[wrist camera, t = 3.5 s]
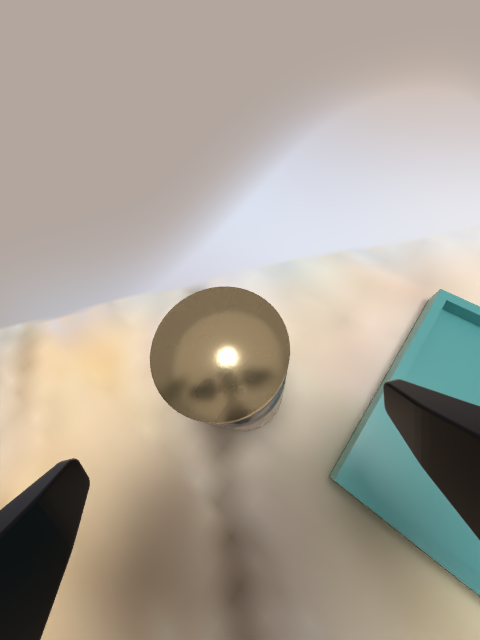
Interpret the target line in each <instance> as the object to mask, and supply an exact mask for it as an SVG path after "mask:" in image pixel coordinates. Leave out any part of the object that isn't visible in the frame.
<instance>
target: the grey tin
mask: <svg viewBox="0 0 480 640" xmlns="http://www.w3.org/2000/svg"><path fill="white" fill-rule="evenodd" d="M289 356H290V343H289V336H288V333H287V329H286V326H285V324H284V322H283V320H282V318H281V317H280V315H279V314H278V312H277V311H276V310H275V309H274V307H273V306H272V305H271V304H270V303H268V302H267V301H266V300H265V299H263V298H262V297H260V296H259V295H257V294H255V293H253V292H250V291H248V290H245V289H241V288H236V287H214V288H209V289H205V290H202V291H199V292H196V293H194V294H192V295H190V296H188V297H187V298H185V299H183V300H182V301H180V302H179V303H178V304H177V305H175V306H174V307H173V308H172V309H171V310H170V311H169V312H168V314H167V315H166V316H165V317H164V319H163V320H162V322H161V323H160V325H159V327H158V329H157V331H156V333H155V336H154V338H153V341H152V346H151V352H150V368H151V373H152V377H153V380H154V383H155V385H156V387H157V389H158V391H159V393H160V394H161V396H162V397H163V399H164V400H165V401H166V402H167V403H168V404H169V405H170V406H171V407H172V408H173V409H175V410H176V411H177V412H179V413H181V414H182V415H184V416H186V417H188V418H191V419H194V420H197V421H201V422H205V423H209V424H213V425H217V426H221V427H225V428H229V429H234V430H238V431H249V430H254V429H257V428H259V427H261V426H263V425H265V424H266V423H267V422H269V421H270V420H271V419H272V418H273V416H274V415H275V414H276V412H277V410H278V408H279V406H280V403H281V399H282V394H283V389H284V384H285V379H286V374H287V369H288V364H289Z"/></svg>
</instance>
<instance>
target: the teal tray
mask: <svg viewBox="0 0 480 640" xmlns="http://www.w3.org/2000/svg"><path fill="white" fill-rule="evenodd" d="M395 379H401V380H404V381H407V382H410V383H413V384H416V385H419V386H422V387H425V388H428V389H431V390H434V391H437V392H440V393H443V394H445V395H448V396H451V397H454V398H457V399H460V400H463V401H466V402H469V403H472V404H475V405H478V406H480V307H479V306H477V305H475V304H473V303H470V302H468V301H466V300H464V299H462V298H459V297H457V296H455V295H453V294H451V293H448V292H446V291H444V290H442V289H440V290H439V291H438V292H437V293H436V294H435V295H434V296H432V297H431V298H430V299H429V300H428V302H427V304H426V306H425V307H424V309H423V311H422V313H421V314H420V316H419V318H418V320H417V322H416V323H415V325H414V327H413V329H412V330H411V332H410V334H409V336H408V338H407V339H406V341H405V343H404V345H403V346H402V348H401V350H400V352H399V353H398V355H397V357H396V359H395V361H394V362H393V364H392V366H391V368H390V369H389V371H388V373H387V375H386V377H385V378H384V380H383V382H382V384H381V385H380V387H379V389H378V391H377V393H376V394H375V396H374V398H373V400H372V401H371V403H370V405H369V407H368V408H367V410H366V412H365V414H364V416H363V417H362V419H361V421H360V423H359V424H358V426H357V428H356V430H355V432H354V433H353V435H352V437H351V439H350V440H349V442H348V444H347V446H346V448H345V449H344V451H343V453H342V455H341V456H340V458H339V460H338V462H337V463H336V465H335V467H334V469H333V471H332V472H331V474H330V476H329V477H330V478H331V479H333V480H334V481H335V482H336V483H338V484H339V485H340V486H341V487H343V488H344V489H345V490H346V491H348V492H349V493H350V494H352V495H353V496H354V497H355V498H357V499H358V500H359V501H360V502H362V503H363V504H364V505H365V506H367V507H368V508H369V509H370V510H372V511H373V512H374V513H375V514H377V515H378V516H379V517H380V518H382V519H383V520H384V521H386V522H387V523H388V524H389V525H391V526H392V527H393V528H394V529H396V530H397V531H398V532H399V533H401V534H402V535H403V536H404V537H406V538H407V539H408V540H409V541H411V542H412V543H413V544H414V545H416V546H417V547H418V548H420V549H421V550H422V551H423V552H425V553H426V554H427V555H428V556H430V557H431V558H432V559H433V560H435V561H436V562H437V563H438V564H440V565H441V566H442V567H443V568H445V569H446V570H447V571H448V572H450V573H451V574H452V575H454V576H455V577H456V578H457V579H459V580H460V581H461V582H462V583H464V584H465V585H466V586H467V587H469V588H470V589H471V590H472V591H474V592H475V593H476V594H477V595H479V596H480V540H479V539H478V538H477V536H476V535H475V534H474V533H473V531H472V530H471V529H470V528H469V526H468V525H467V524H466V523H465V521H464V520H463V519H462V517H461V516H460V515H459V514H458V512H457V511H456V510H455V509H454V507H453V506H452V505H451V503H450V502H449V501H448V500H447V498H446V497H445V496H444V495H443V493H442V492H441V491H440V490H439V488H438V487H437V486H436V484H435V483H434V482H433V481H432V479H431V478H430V477H429V476H428V474H427V473H426V472H425V470H424V469H423V468H422V466H421V465H420V463H419V462H418V461H417V459H416V458H415V456H414V455H413V453H412V451H411V450H410V448H409V447H408V445H407V444H406V442H405V441H404V439H403V437H402V436H401V434H400V433H399V431H398V430H397V428H396V427H395V425H394V424H393V422H392V420H391V419H390V417H389V416H388V414H387V412H386V410H385V406H384V391H383V385H384V383H385V382H387V381H391V380H395Z"/></svg>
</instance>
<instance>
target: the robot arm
mask: <svg viewBox="0 0 480 640" xmlns="http://www.w3.org/2000/svg"><path fill="white" fill-rule="evenodd" d="M383 391H384V406H385V410H386V412H387V414H388V416H389V417H390V419H391V420H392V422H393V424H394V425H395V427H396V428H397V430H398V431H399V433H400V434H401V436H402V437H403V439H404V441H405V442H406V444H407V445H408V447H409V448H410V450H411V451H412V453H413V455H414V456H415V458H416V459H417V461H418V462H419V463H420V465H421V466H422V468H423V469H424V470H425V472H426V473H427V474H428V476H429V477H430V478H431V479H432V481H433V482H434V483H435V484H436V486H437V487H438V488H439V490H440V491H441V492H442V493H443V495H444V496H445V497H446V498H447V500H448V501H449V502H450V503H451V505H452V506H453V507H454V509H455V510H456V511H457V512H458V514H459V515H460V516H461V517H462V519H463V520H464V521H465V523H466V524H467V525H468V526H469V528H470V529H471V530H472V531H473V533H474V534H475V535H476V536H477V538H478V539H479V540H480V406H478V405H475V404H472V403H469V402H466V401H463V400H460V399H457V398H454V397H451V396H448V395H445V394H443V393H440V392H437V391H434V390H431V389H428V388H425V387H422V386H419V385H416V384H413V383H410V382H407V381H404V380H401V379H395V380H391V381H387V382H385V383H384V385H383ZM89 486H90V480H89V477H88V475H87V474H86V472H85V470H84V469H83V467H82V465H81V464H80V462H79V461H78V460H77V459H69V460H65V461H61V462H59V463H58V464H56V465H55V466H54V467H53V468H52V469H50V470H49V471H48V472H47V473H45V474H44V475H43V476H42V477H41V478H39V479H38V480H37V481H36V482H34V483H33V484H32V485H31V486H29V487H28V488H27V489H26V490H25V491H23V492H22V493H21V494H20V495H18V496H17V497H16V498H15V499H13V500H12V501H11V502H10V503H9V504H7V505H6V506H5V507H4V508H2V509H1V510H0V640H40V639H41V636H42V634H43V631H44V628H45V625H46V622H47V620H48V617H49V614H50V611H51V608H52V606H53V603H54V600H55V597H56V594H57V592H58V589H59V586H60V583H61V580H62V578H63V575H64V572H65V569H66V566H67V564H68V561H69V558H70V555H71V552H72V549H73V545H74V542H75V539H76V535H77V531H78V527H79V524H80V520H81V516H82V513H83V509H84V505H85V502H86V498H87V494H88V490H89Z"/></svg>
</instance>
